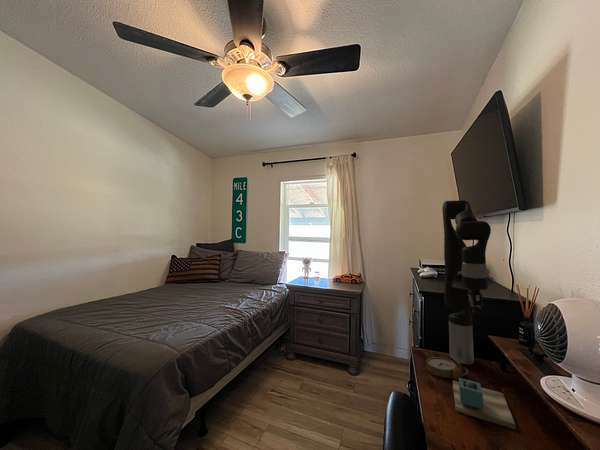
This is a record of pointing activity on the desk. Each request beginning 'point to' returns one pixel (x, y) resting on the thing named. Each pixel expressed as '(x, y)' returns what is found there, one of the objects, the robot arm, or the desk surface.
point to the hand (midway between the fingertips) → (476, 319)
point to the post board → (486, 406)
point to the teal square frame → (471, 394)
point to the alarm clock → (445, 368)
